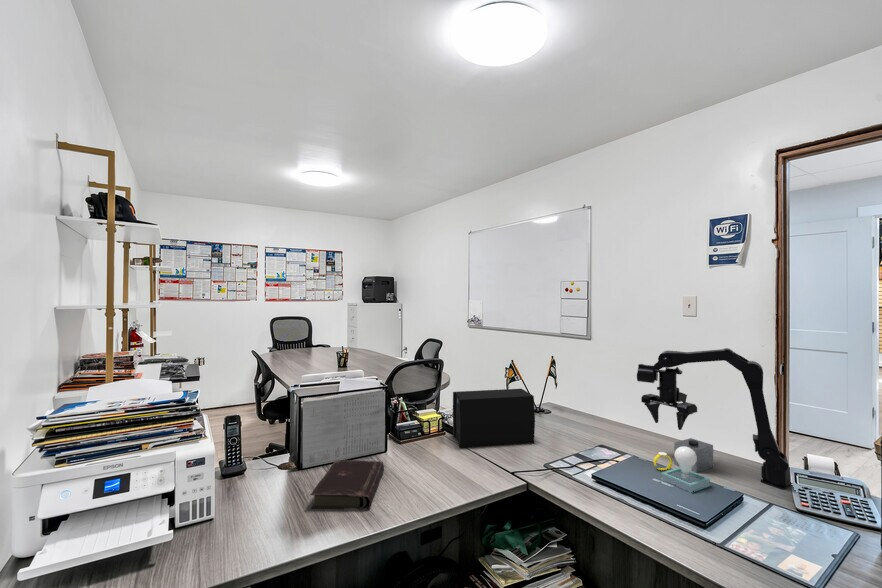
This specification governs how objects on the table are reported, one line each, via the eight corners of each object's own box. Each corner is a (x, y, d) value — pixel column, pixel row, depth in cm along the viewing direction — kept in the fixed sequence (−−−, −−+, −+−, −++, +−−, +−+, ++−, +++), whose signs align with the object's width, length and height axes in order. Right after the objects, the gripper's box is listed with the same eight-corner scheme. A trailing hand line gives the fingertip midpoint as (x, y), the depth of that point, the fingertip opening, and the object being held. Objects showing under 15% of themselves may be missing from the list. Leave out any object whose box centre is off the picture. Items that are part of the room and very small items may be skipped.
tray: (710, 486, 132) (709, 478, 132) (691, 493, 127) (691, 485, 127) (680, 474, 141) (680, 466, 141) (661, 480, 136) (661, 472, 136)
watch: (657, 472, 143) (655, 455, 143) (653, 469, 146) (651, 452, 146) (674, 471, 143) (672, 454, 143) (669, 467, 146) (668, 451, 146)
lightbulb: (675, 482, 133) (674, 448, 133) (674, 474, 138) (674, 442, 138) (698, 486, 130) (697, 451, 130) (696, 478, 135) (695, 445, 135)
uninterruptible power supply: (452, 435, 181) (452, 391, 181) (524, 431, 186) (524, 387, 186) (460, 449, 165) (460, 400, 165) (538, 444, 170) (538, 396, 170)
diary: (384, 474, 144) (384, 460, 144) (370, 512, 119) (370, 495, 119) (332, 473, 144) (332, 459, 144) (307, 511, 119) (307, 493, 119)
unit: (713, 467, 146) (713, 442, 146) (696, 472, 142) (696, 447, 142) (690, 458, 154) (690, 435, 154) (673, 464, 149) (673, 439, 149)
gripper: (706, 387, 147) (706, 430, 147) (658, 378, 164) (659, 416, 164) (687, 390, 142) (687, 435, 142) (640, 380, 159) (640, 420, 159)
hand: (668, 426), depth 152 cm, fingers open, 9 cm apart
